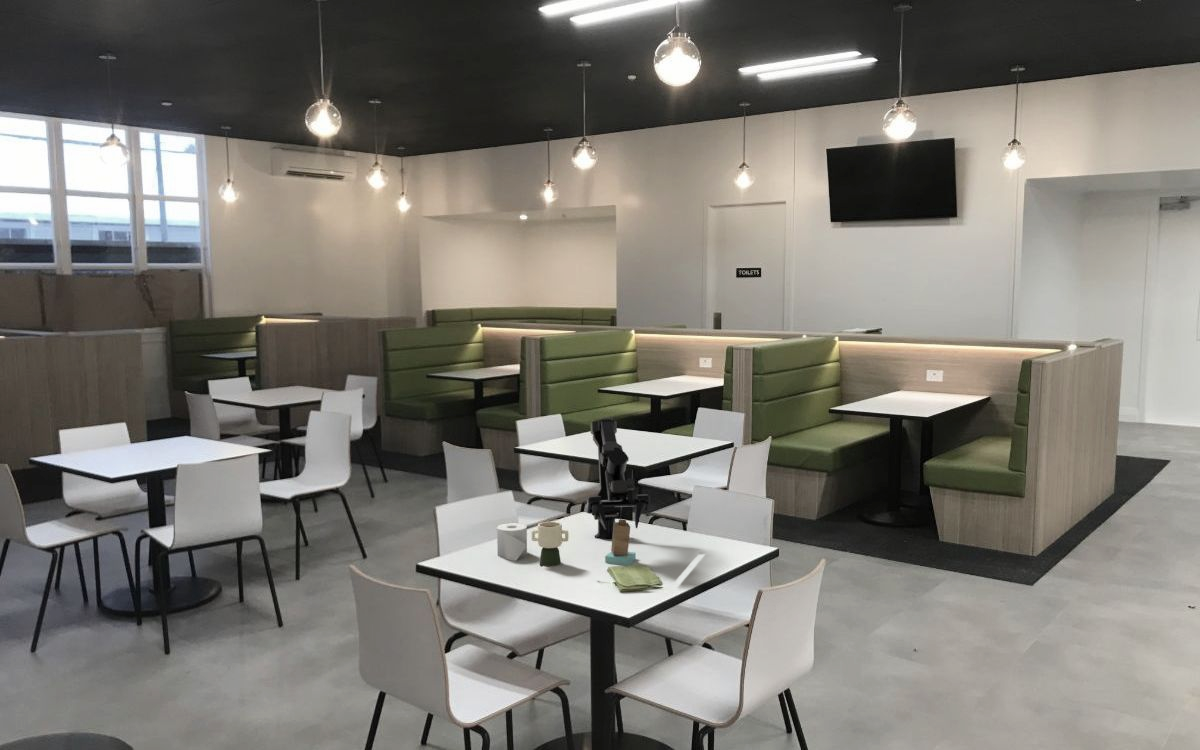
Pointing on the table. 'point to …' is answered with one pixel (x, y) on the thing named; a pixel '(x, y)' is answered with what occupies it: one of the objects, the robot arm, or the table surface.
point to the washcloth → (634, 577)
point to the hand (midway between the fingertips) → (621, 528)
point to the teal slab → (620, 558)
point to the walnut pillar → (620, 538)
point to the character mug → (550, 542)
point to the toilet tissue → (512, 540)
